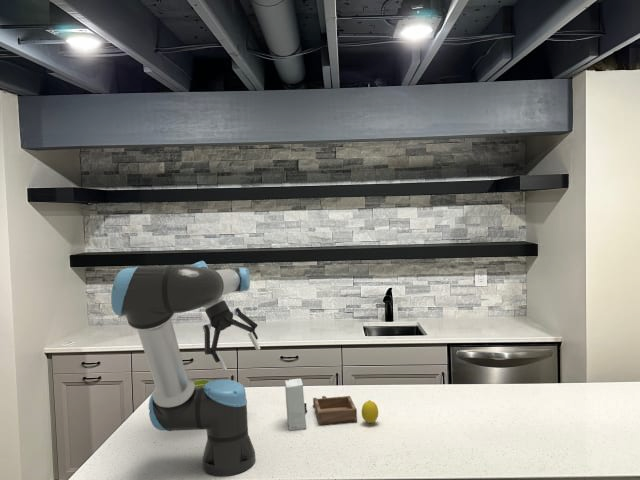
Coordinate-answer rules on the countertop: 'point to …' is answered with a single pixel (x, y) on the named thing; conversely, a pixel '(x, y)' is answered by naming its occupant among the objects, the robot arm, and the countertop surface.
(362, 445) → the countertop surface
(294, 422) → the skincare box
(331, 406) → the open wooden tray
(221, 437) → the robot arm
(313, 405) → the clip
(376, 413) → the lemon
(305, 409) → the clip
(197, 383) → the plant pot
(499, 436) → the countertop surface
